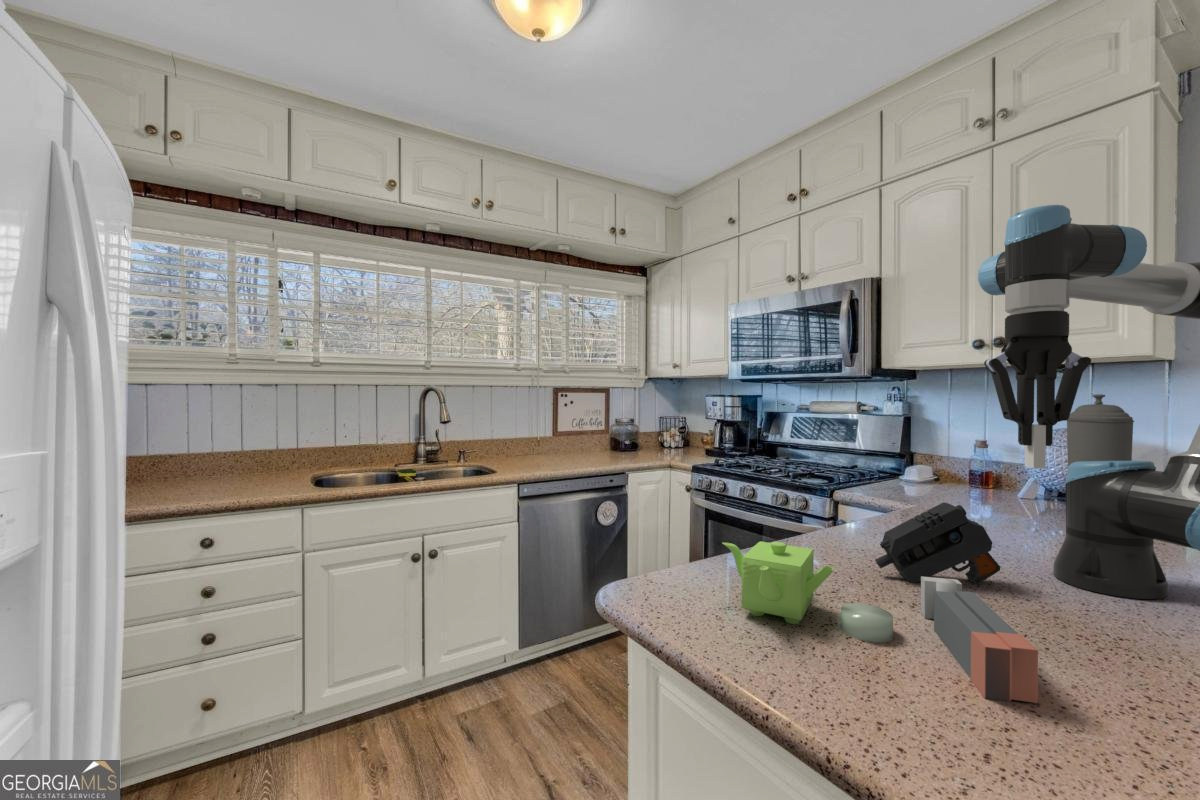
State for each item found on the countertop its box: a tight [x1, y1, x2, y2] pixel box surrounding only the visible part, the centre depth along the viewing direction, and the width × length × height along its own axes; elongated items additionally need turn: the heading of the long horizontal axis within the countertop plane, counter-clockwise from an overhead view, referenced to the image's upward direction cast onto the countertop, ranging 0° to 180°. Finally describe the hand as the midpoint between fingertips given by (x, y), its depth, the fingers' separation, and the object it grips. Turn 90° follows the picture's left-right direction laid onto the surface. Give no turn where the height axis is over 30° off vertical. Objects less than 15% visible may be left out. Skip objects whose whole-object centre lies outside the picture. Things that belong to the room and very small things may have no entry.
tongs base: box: [920, 576, 1012, 703], centre depth 72 cm, size 24×5×7 cm, turn 164°
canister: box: [1066, 393, 1135, 467], centre depth 133 cm, size 13×13×35 cm
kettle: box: [721, 541, 835, 625], centre depth 85 cm, size 15×14×11 cm
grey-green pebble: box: [840, 602, 894, 644], centre depth 78 cm, size 7×7×3 cm
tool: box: [874, 501, 1001, 586], centre depth 99 cm, size 6×19×15 cm, turn 78°
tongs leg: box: [955, 590, 1039, 704], centre depth 68 cm, size 18×3×6 cm, turn 163°
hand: (1034, 467), depth 79 cm, fingers closed
